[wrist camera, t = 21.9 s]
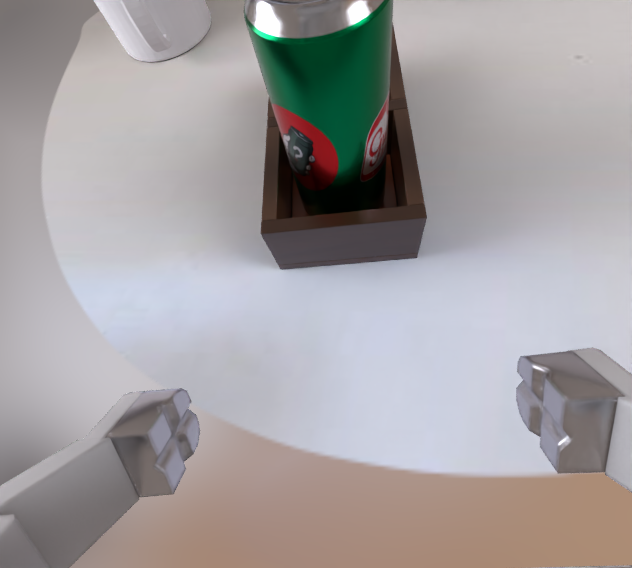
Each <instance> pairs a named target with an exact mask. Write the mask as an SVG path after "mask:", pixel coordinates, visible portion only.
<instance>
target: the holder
mask: <svg viewBox="0 0 632 568" xmlns="http://www.w3.org/2000/svg"><path fill="white" fill-rule="evenodd" d="M426 219H427V215H426V210H425V205H424V198H423V193H422V187H421V181H420V176H419V170H418V164H417V159H416V153H415V147H414V141H413V136H412V130H411V124H410V119H409V113H408V107H407V102H406V96H405V90H404V85H403V79H402V73H401V68H400V62H399V56H398V50H397V45H396V39H395V33H394V28H393V22H392V41H391V65H390V88H389V111H388V135H387V158H386V181H385V196H384V199H383V202H382V204H381V206H380V207H379V209H372V210H362V211H353V212H343V213H334V214H324V215H314V216H309V215H308V213H307V212H306V210H305V209H304V206H303V204H302V201H301V197H300V194H299V191H298V188H297V185H296V181H295V178H294V175H293V172H292V169H291V165H290V162H289V159H288V156H287V153H286V149H285V146H284V143H283V140H282V137H281V133H280V130H279V127H278V124H277V121H276V117H275V114H274V111H273V108H272V105H271V101H270V98H269V101H268V120H267V136H266V153H265V171H264V188H263V206H262V222H261V235H262V237H263V239H264V240H265V242H266V244H267V246H268V247H269V249H270V251H271V253H272V255H273V256H274V258H275V260H276V262H277V263H278V265H279V267H280V269H290V268H301V267H313V266H325V265H337V264H349V263H361V262H373V261H385V260H397V259H408V258H417V256H418V252H419V248H420V243H421V239H422V235H423V231H424V227H425V223H426Z"/></svg>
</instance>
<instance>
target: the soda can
mask: <svg viewBox="0 0 632 568" xmlns="http://www.w3.org/2000/svg"><path fill="white" fill-rule="evenodd" d="M244 18H245V21H246V25H247V28H248V31H249V34H250V37H251V41H252V44H253V47H254V50H255V53H256V57H257V60H258V63H259V66H260V69H261V73H262V76H263V79H264V82H265V85H266V89H267V92H268V95H269V98H270V101H271V105H272V108H273V111H274V114H275V117H276V121H277V124H278V127H279V130H280V133H281V137H282V140H283V143H284V146H285V149H286V153H287V156H288V159H289V162H290V165H291V169H292V172H293V175H294V178H295V181H296V185H297V188H298V191H299V194H300V197H301V201H302V204H303V206H304V209H305V210H306V212H307V213H308V215H309V216H314V215H324V214H334V213H343V212H353V211H362V210H372V209H379V207H380V206H381V204H382V202H383V199H384V196H385V181H386V158H387V135H388V111H389V88H390V65H391V41H392V18H393V0H245V6H244Z"/></svg>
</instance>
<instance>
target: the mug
mask: <svg viewBox="0 0 632 568" xmlns="http://www.w3.org/2000/svg"><path fill="white" fill-rule="evenodd" d="M94 2H95V3H96V5H97V7H98V8H99V10H100V11H101V13H102V14H103V16H104V17H105V19H106V21H107V22H108V24H109V25H110V27H111V28H112V30H113V31H114V33H115V34H116V36H117V38H118V39H119V41H120V42H121V44H122V45H123V47H124V48H125V50H126V51H127V53H128V54H129V55H130V56H132V57H133V58H135V59H137V60H140V61H145V62H156V61H162V60H167V59H170V58H173V57H176V56H178V55H180V54H183V53H185V52H186V51H188V50H190V49H191V48H193V47H194V46H195V45H196V44H198V43H199V42H200V41H201V40H202V39H203V38H204V36H205V35H206V34H207V32H208V30H209V28H210V25H211V14H210V12H209V9H208V7H207V4H206V2H205V0H94Z"/></svg>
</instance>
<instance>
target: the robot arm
mask: <svg viewBox="0 0 632 568" xmlns="http://www.w3.org/2000/svg"><path fill="white" fill-rule="evenodd" d="M517 372H518V373H519V375H520V376H521V377H522V379H523V381H522V382H521V383H520V384H519V386H518V387H517V388H516V400H517V405H518V409H519V413H520V415H521V417H522V420H523V422H524V423H525V425H526V426H527V428H528V429H529V431H531V432H533V433H534V434H536V435H538V436H540V437H541V438H540V448H541V449H542V451H543V452H544V453H545V455H546V456H547V458H548V459H549V461H550V462H551V464H552V465H553V467H554V468H555V470H556V471H557V473H592V472H605V475H607V476H608V477H610V478H611V479H612V480H614V481H615V482H617V483H618V484H620V485H621V486H623V487H624V488H626V489H627V490H629V491H630V492H632V374H631V373H629V372H628V371H627V370H625V369H624V368H623V367H622V366H620V365H619V364H618V363H616V362H615V361H614V360H612V359H611V358H610V357H608V356H607V355H606V354H605V353H603V352H602V351H601V350H599V349H595V348H586V349H578V350H570V351H566V352H557V353H548V354H538V355H529V356H520V358H519V361H518V367H517ZM190 403H191V399H190V397H189V394H188V392H187V391H186V390H184V389H182V388H179V389H166V390H152V391H140V392H130V393H128V394H125V395H123V396H122V397H121V398H120V399H119V401H118V402H117V403H116V404H115V405H114V406H113V407H112V408H111V409H110V410H109V412H108V413H107V414H106V415H105V416H104V417H103V418H102V419H101V420H100V421H99V423H98V424H97V425H96V426H95V427H94V428H93V429H92V430H91V431H90V433H89V434H88V435H87V436H86V437H85V438H84V439H83V440H76V441H75V442H73V443H71V444H70V445H68V446H66V447H65V448H63V449H61V450H60V451H58V452H56V453H55V454H53V455H51V456H50V457H48V458H46V459H44V460H43V461H41V462H39V463H38V464H36V465H34V466H33V467H31V468H29V469H28V470H26V471H24V472H23V473H21V474H19V475H18V476H16V477H14V478H13V479H11V480H9V481H8V482H6V483H4V484H3V485H1V486H0V568H69V567H70V566H72V564H74V563H75V561H77V560H78V559H79V558H80V557H81V556H82V555H83V554H84V553H85V552H86V551H87V550H88V549H89V548H90V547H91V546H92V545H93V544H94V543H95V542H96V541H97V540H98V539H99V538H100V537H101V536H102V535H103V534H104V533H105V532H106V531H107V530H108V529H109V528H110V527H111V526H112V525H114V523H116V521H118V519H120V518H121V517H122V516H123V515H124V514H125V513H126V512H127V511H128V510H129V509H130V508H131V507H132V506H133V505H134V504H135V503H136V502H137V501H138V500H139V497H148V496H159V495H169V494H174V492H175V490H176V488H177V486H178V484H179V482H180V480H181V478H182V476H183V474H184V472H185V469H186V468H185V464H184V461H185V460H187V459H188V458H189V457H190V456H191V455H193V454H194V452H195V449H196V447H197V445H198V441H199V435H200V428H199V421H198V418H197V416H196V414H194V413H193V412H192V411H191V410H189V409H188V408H189V406H190ZM541 568H542V567H541ZM545 568H632V566H631V565H629V566H588V567H587V566H586V567H585V566H584V567H545Z"/></svg>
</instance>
